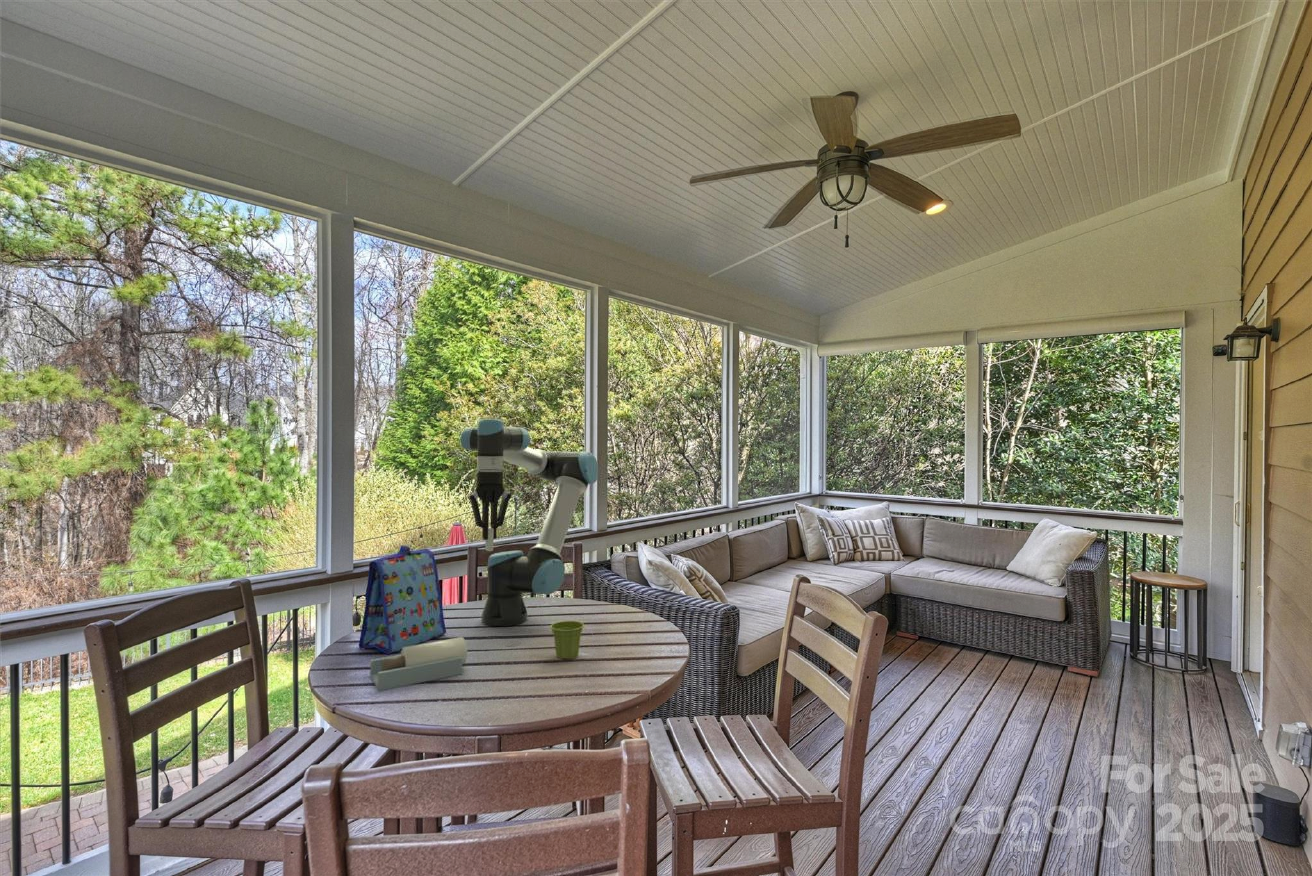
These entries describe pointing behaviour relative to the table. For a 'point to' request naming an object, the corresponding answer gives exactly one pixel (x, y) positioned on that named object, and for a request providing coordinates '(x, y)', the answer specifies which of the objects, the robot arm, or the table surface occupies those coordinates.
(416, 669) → the grey-green cradle
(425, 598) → the lunch bag
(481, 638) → the table surface
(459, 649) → the cream bottle
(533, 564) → the robot arm
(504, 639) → the table surface
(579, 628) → the plant pot
